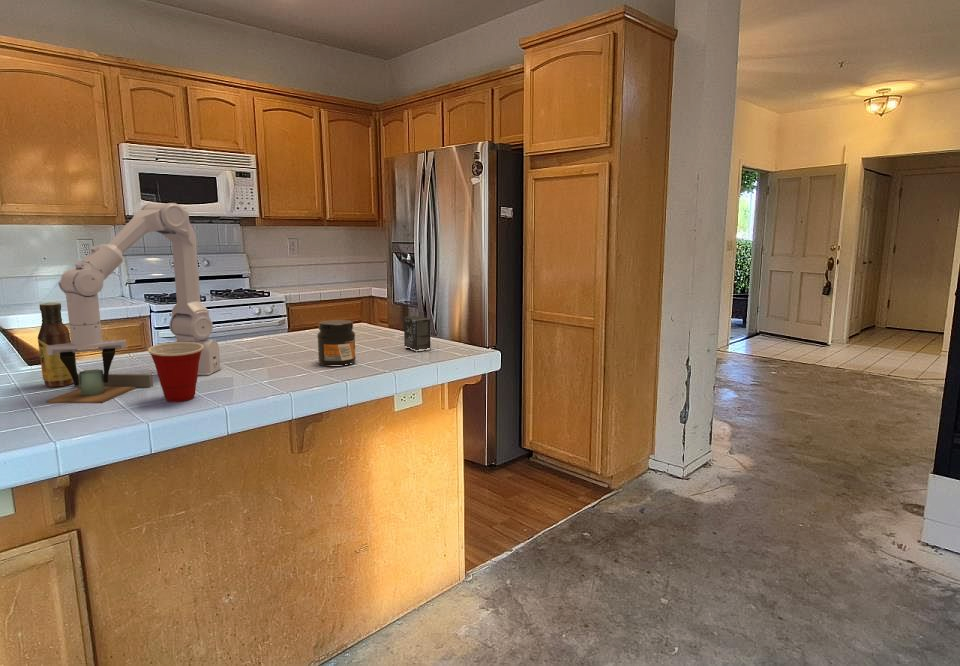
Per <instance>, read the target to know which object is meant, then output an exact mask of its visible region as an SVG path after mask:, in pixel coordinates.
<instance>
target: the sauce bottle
mask: <svg viewBox="0 0 960 666" xmlns="http://www.w3.org/2000/svg"><path fill="white" fill-rule="evenodd" d="M61 310H62V303H60V302H45V303H40V304H39V311H40V314H41V324H40V325H41V326H40V328H39V333H38V335H37V344H38V352H39V358H40V365H41V373H42V380H43V382H44V385H45V386H46V387H47V388H48V387H49V388H59V387H66V386H70V385H72V384H73V385H74V381H73V379H72V376H71V374H70V372H69V371H68V369H67V367H66V366H65V365H64V363H63V362H62V361H61V359H60V354H54V355H47V350H46V347H47V345H57V344H66V343H71V335H70V329H69V328H68V327H67V326H66V325H65V324H64V322H63V319H62V311H61Z"/></svg>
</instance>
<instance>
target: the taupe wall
mask: <svg viewBox="0 0 960 666" xmlns="http://www.w3.org/2000/svg"><path fill="white" fill-rule="evenodd" d="M77 374H78V379H79V385H78V386H75V385H74V384H73V387H74V388H81V386H80V375H79V373H77ZM103 378H104V373H103ZM104 387H135V388H152V387H154V381H153V373H109V374H108V382H106V383H104Z"/></svg>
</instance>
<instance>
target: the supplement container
mask: <svg viewBox="0 0 960 666" xmlns="http://www.w3.org/2000/svg"><path fill="white" fill-rule="evenodd" d="M353 329H354V322H353V321H351V320H346V319H332V320H329V319H328V320H324V321H319V322H318V330H319V331H318V333H317V335H316V337H317V350H318V351H317V352H318V353H317V354H318V357H317V359H318V363H319V364H320V365H321V364H323V365H345V364H350V363H353V362H354V363H355V362H356V358H357V357H356V333H355V331H354V330H353ZM354 363H353V364H354ZM323 365H322V366H323ZM350 365H351V364H350Z"/></svg>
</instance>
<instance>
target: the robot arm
mask: <svg viewBox="0 0 960 666" xmlns="http://www.w3.org/2000/svg"><path fill="white" fill-rule="evenodd" d="M189 214H190V213H189V211H187V210H186V209H185V208H184V207H182V206H181V205H180V204H178V203H175V202H168V203H147V204H144V205H143V206H142V207H141V208H140V209H139V210H137V211H136V212H135V213H134V215H133V217H132V218H131V219H130V220H129V221H128V222H127V223H126V225H124V226H123V228H122V229H121V230H120V231H119V232H118V233H117V234H116V235H115V236H114V238H112V240H111V241H110V242H109V243H108V244H107V243H101V244H98V245H93V246H92V247H91V248H90V249H89V250H90V252H89V253H88V254H87V256H85V257H84V258H83V259H82V260H81V261H77V262H76V263H75V264H74V266H75V268H72V269H69V270H66V271H64V272H63V274H62V275H61V277H60V281H58V283H57V285H58V287H59V289H60V290H61V292H63V293H64V295H65V298H66V307H67V317H68V324H69V333H70V340H71V343H66V344H57V345H47V347H46V350H47V355H54V354H60V359H61V361H62V362H63V363H64V365H65V366H66V367H67V369H68V371H69V372H70V374H71V376H72V379H73V381H74V383H73V386H74V385H75V386H78V385H79V379H78V374H79V373H78V370H77V361H76V353H87V352H99V351H101V357H102V366H103V374H104V383H106V382H108V374H110V369H111V366H112V363H113V360H114V357H115V355H116V350H127V340H126V339H112V340H108V339H107V340H106V339H105V340H104V339H103V332H102V323H101V314H100V313H101V312H100V305H99V296H98V295H99V294H98V293H100V292H101V291H102V290H103V286H104V282H105V280H106V279H107V278H108V277H109V276H110V275H111V274H112V273H113V272H114V271H115V270H116V269H117V268H118V267H119V266H120V265H121V264H122V263H123V262H124V260H123V254H125V252H126V251H128V249H130V248H131V247H132V246H133V245H135V244H136V243H137V242H138V241H139V240H140V239H141V238H143V237H144V236H145V235H146V234H147V233H151V232H156V233H159V234H161V235H163V237H164V238H167V240H168V241H170V242H171V243H172V244H171V245H172V256H173V257H172V259H173V268H174V269H173V271H174V283H175V284H174V285H175V295H176V304H175V305H174V306H173V307H172V309H171V317H170V321H169V324H168V325H169V330H170V332H171V333H172V334H173V335H174V336H175V340H176V342H194V343H199V344H202V345H203V347H204V348H203V350H202V351H201V355H200V360H199V366H198V375H197V376H210V375H212V374H214V373H215V372H218V371H220V370H221V369H222V366H221V361H220V358H221V357H220V347H219V346H220V345H219V343H218V341H217V340H215V339H210V337H209V336H211V334H212V332H213V327H214V324H213V321H212V319H211V318H210V313H209V309H208V308H207V307H206V306H205V305H204V304H203V303H202V302H201V292H200V291H201V288H200V276H199V262H198V249H197V237H196V236H197V235H196V232H195V230H194V229H193V226H192V224H191V222H190V215H189Z"/></svg>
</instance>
